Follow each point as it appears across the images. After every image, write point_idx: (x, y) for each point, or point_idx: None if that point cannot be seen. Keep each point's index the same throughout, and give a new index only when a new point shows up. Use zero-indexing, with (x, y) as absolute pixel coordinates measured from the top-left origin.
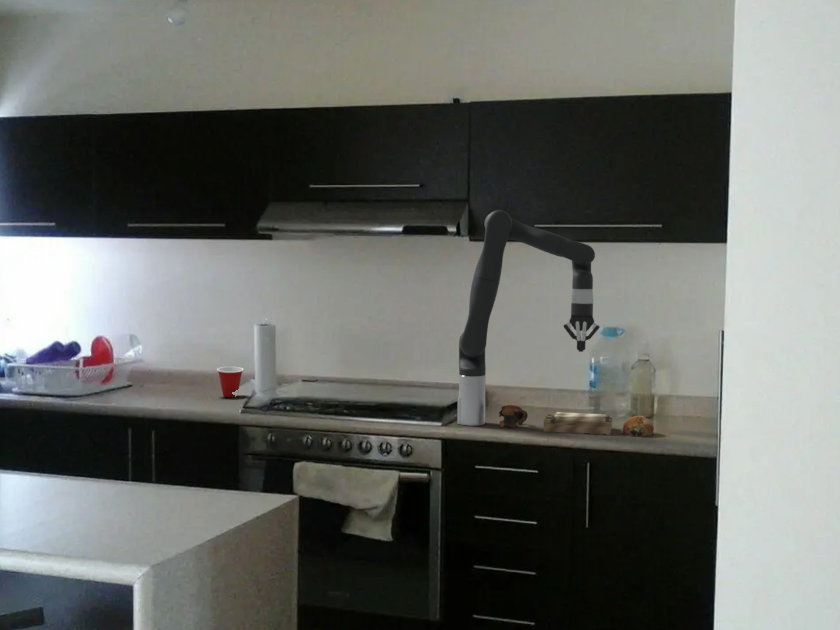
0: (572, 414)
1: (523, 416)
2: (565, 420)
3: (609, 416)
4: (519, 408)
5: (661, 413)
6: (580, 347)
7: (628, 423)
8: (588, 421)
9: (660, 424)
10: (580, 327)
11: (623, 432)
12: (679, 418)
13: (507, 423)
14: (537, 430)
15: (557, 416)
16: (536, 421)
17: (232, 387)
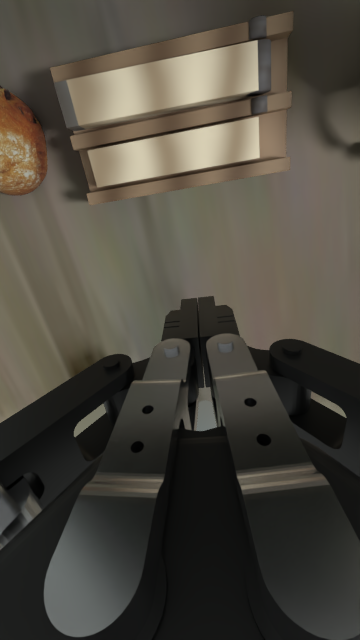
0: (199, 130)
1: None
2: (208, 35)
3: (66, 122)
4: None
5: None
6: (200, 309)
7: (1, 102)
8: (126, 59)
9: (22, 305)
10: (217, 474)
11: (40, 125)
12: (20, 382)
13: None
14: (302, 42)
15: (243, 43)
16: (317, 215)
17: None
